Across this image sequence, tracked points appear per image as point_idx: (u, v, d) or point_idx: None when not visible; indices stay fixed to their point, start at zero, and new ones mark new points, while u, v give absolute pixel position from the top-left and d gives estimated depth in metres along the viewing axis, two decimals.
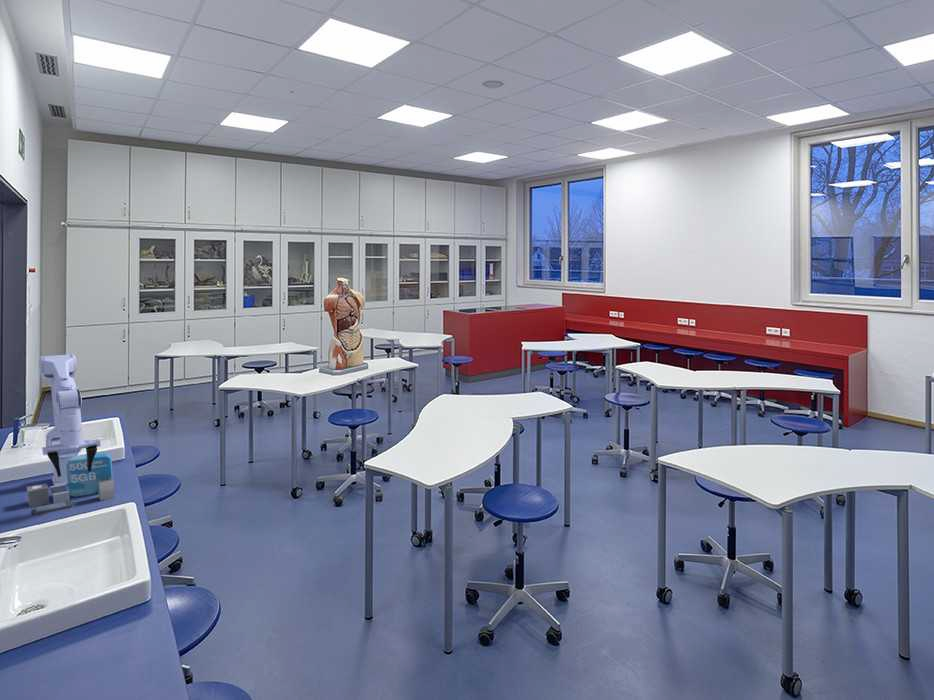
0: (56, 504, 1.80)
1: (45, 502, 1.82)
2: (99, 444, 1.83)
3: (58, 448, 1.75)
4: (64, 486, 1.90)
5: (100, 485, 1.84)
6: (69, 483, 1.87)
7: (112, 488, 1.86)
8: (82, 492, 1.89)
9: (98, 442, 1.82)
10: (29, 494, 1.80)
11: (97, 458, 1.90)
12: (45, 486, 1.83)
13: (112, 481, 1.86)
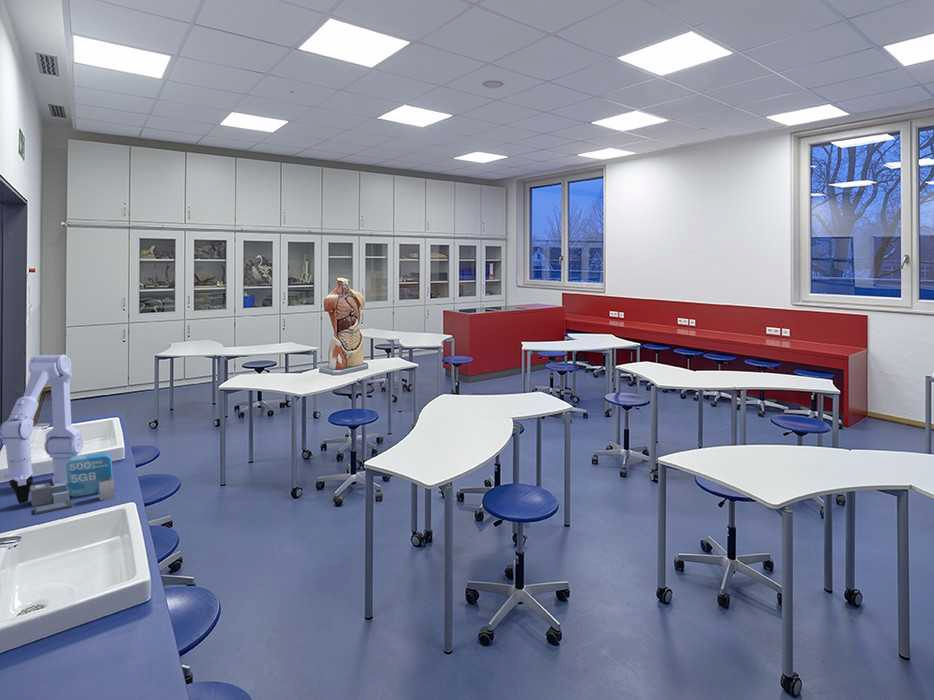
0: (56, 504, 1.80)
1: (48, 501, 1.83)
2: (17, 483, 1.74)
3: None
4: (64, 486, 1.90)
5: (100, 485, 1.84)
6: (69, 483, 1.87)
7: (112, 488, 1.86)
8: (82, 492, 1.89)
9: (17, 481, 1.74)
10: (32, 493, 1.80)
11: (97, 458, 1.90)
12: (48, 485, 1.84)
13: (112, 481, 1.86)
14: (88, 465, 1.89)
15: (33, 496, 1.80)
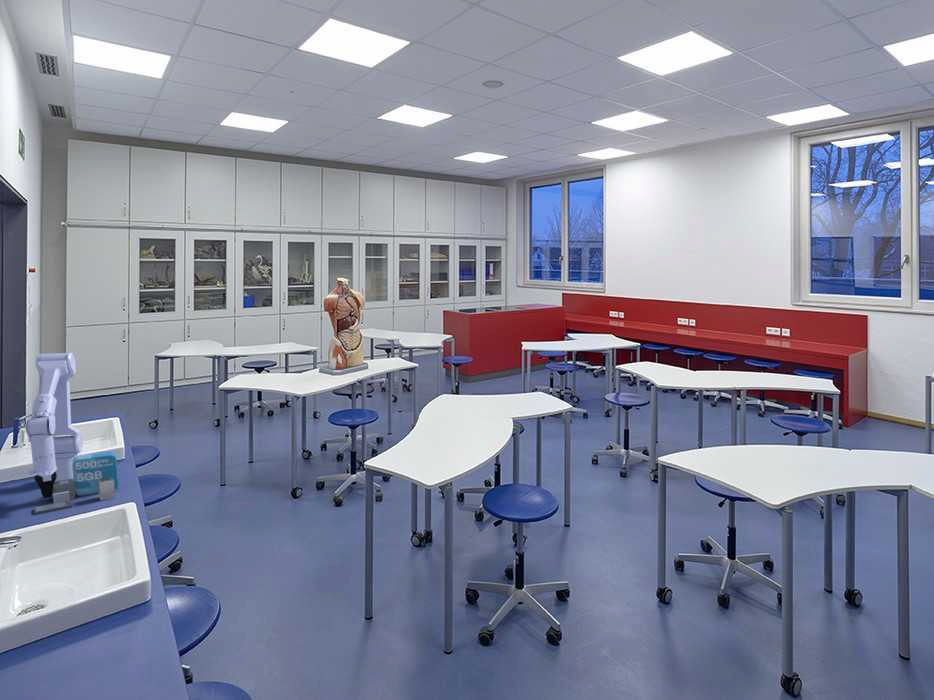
0: (56, 504, 1.80)
1: (71, 497, 1.86)
2: (43, 479, 1.78)
3: None
4: None
5: (100, 485, 1.84)
6: (75, 482, 1.88)
7: (112, 488, 1.86)
8: (88, 491, 1.90)
9: (42, 477, 1.78)
10: (56, 489, 1.84)
11: (103, 457, 1.91)
12: (71, 481, 1.88)
13: (112, 481, 1.86)
14: (94, 464, 1.90)
15: (57, 492, 1.84)
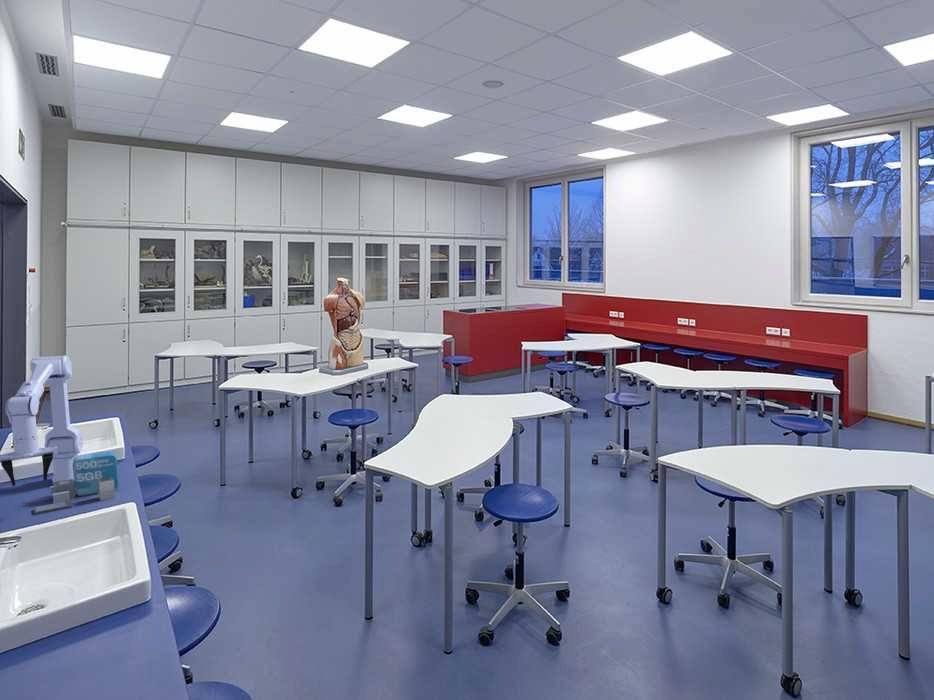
0: (56, 504, 1.80)
1: (71, 497, 1.86)
2: (56, 452, 1.77)
3: (11, 456, 1.70)
4: None
5: (100, 485, 1.84)
6: (75, 482, 1.88)
7: (112, 488, 1.86)
8: (88, 491, 1.90)
9: (55, 450, 1.77)
10: (56, 489, 1.84)
11: (103, 457, 1.91)
12: (71, 481, 1.88)
13: (112, 481, 1.86)
14: (94, 464, 1.90)
15: (57, 492, 1.84)
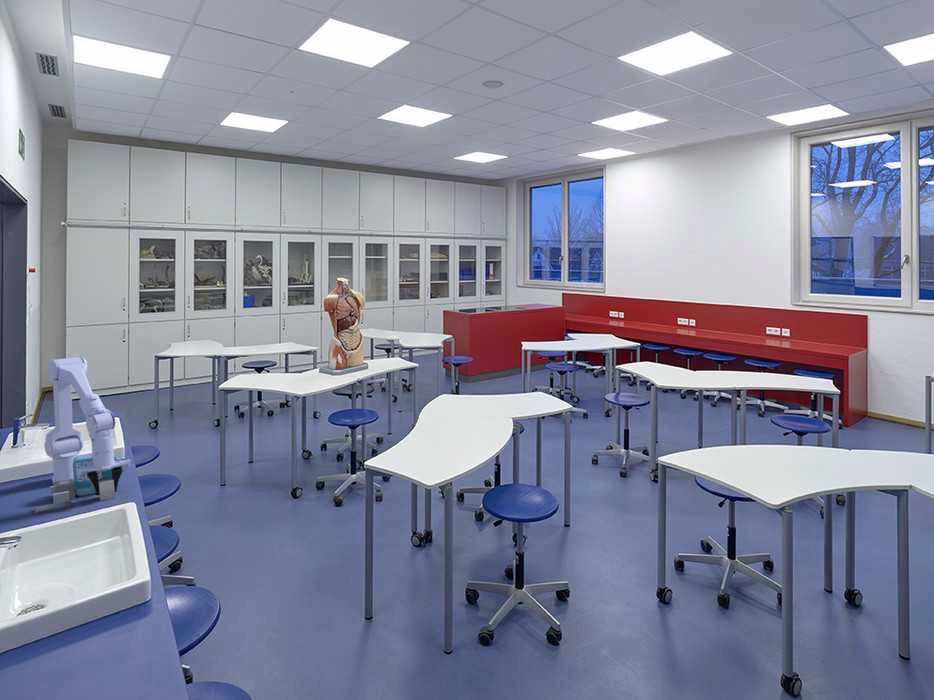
0: (56, 504, 1.80)
1: (71, 497, 1.86)
2: (130, 464, 1.90)
3: (91, 469, 1.82)
4: None
5: (100, 485, 1.84)
6: (75, 482, 1.88)
7: (112, 488, 1.86)
8: (88, 491, 1.90)
9: (129, 462, 1.90)
10: (56, 489, 1.84)
11: None
12: (71, 481, 1.88)
13: (112, 481, 1.86)
14: None
15: (57, 492, 1.84)
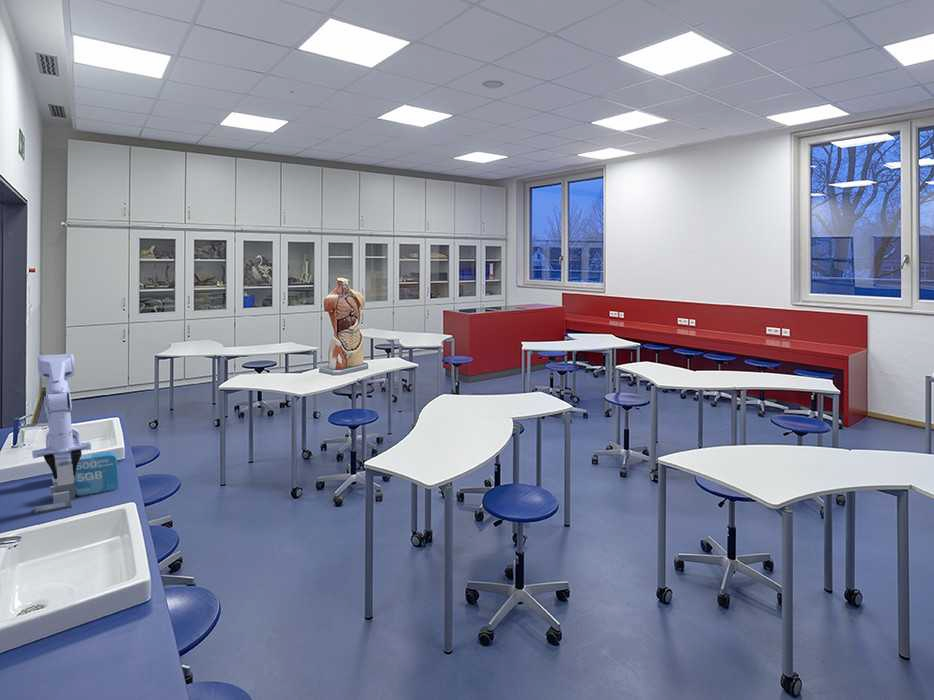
0: (56, 504, 1.80)
1: (71, 497, 1.86)
2: (90, 447, 1.82)
3: (48, 451, 1.75)
4: None
5: (58, 469, 1.77)
6: (75, 482, 1.88)
7: (70, 473, 1.79)
8: (88, 491, 1.90)
9: (88, 445, 1.82)
10: (56, 489, 1.84)
11: (103, 457, 1.91)
12: None
13: (71, 465, 1.79)
14: (94, 464, 1.90)
15: (57, 492, 1.84)
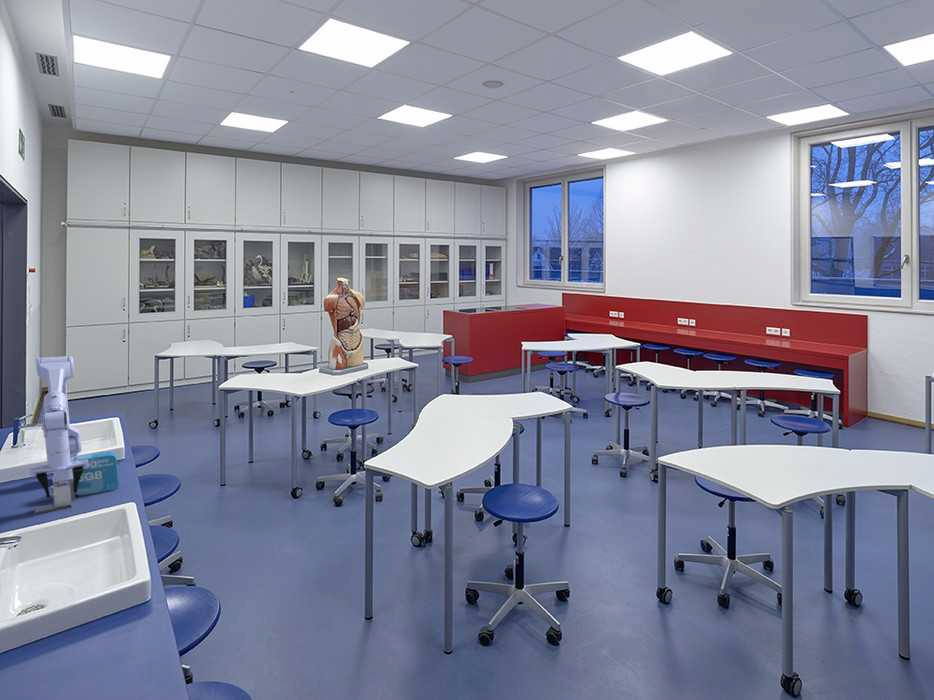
0: None
1: (71, 497, 1.86)
2: (87, 464, 1.82)
3: (45, 469, 1.75)
4: None
5: (55, 490, 1.77)
6: None
7: (68, 494, 1.79)
8: (88, 491, 1.90)
9: (86, 463, 1.82)
10: None
11: (103, 457, 1.91)
12: (71, 481, 1.88)
13: (68, 486, 1.79)
14: (94, 464, 1.90)
15: None
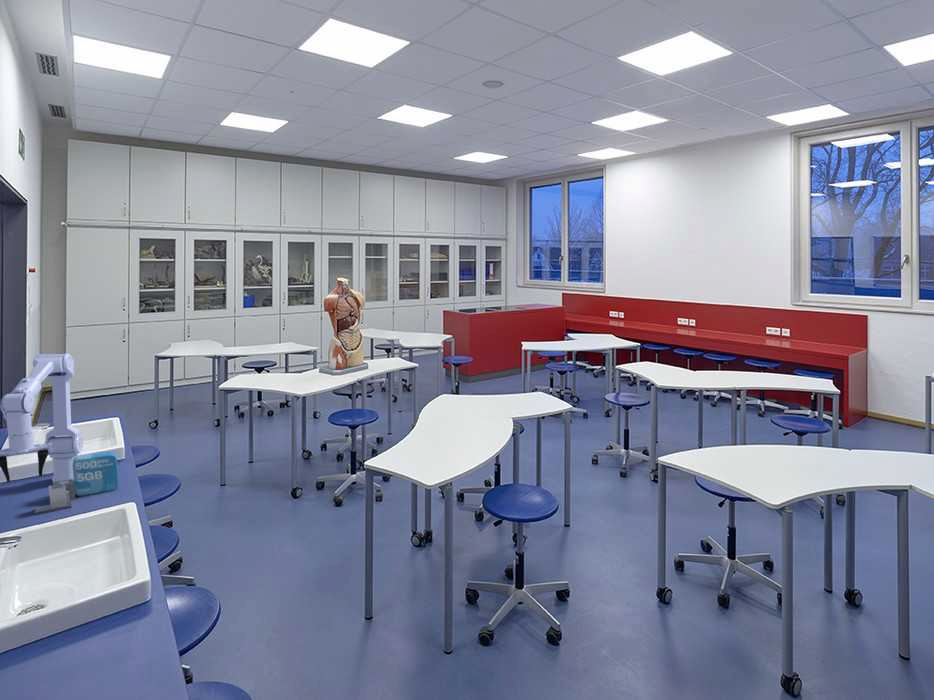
0: None
1: (71, 497, 1.86)
2: (51, 448, 1.79)
3: (6, 452, 1.72)
4: None
5: (51, 493, 1.76)
6: (75, 482, 1.88)
7: (64, 496, 1.78)
8: (88, 491, 1.90)
9: (49, 446, 1.79)
10: None
11: (103, 457, 1.91)
12: (71, 481, 1.88)
13: (64, 488, 1.78)
14: (94, 464, 1.90)
15: None
